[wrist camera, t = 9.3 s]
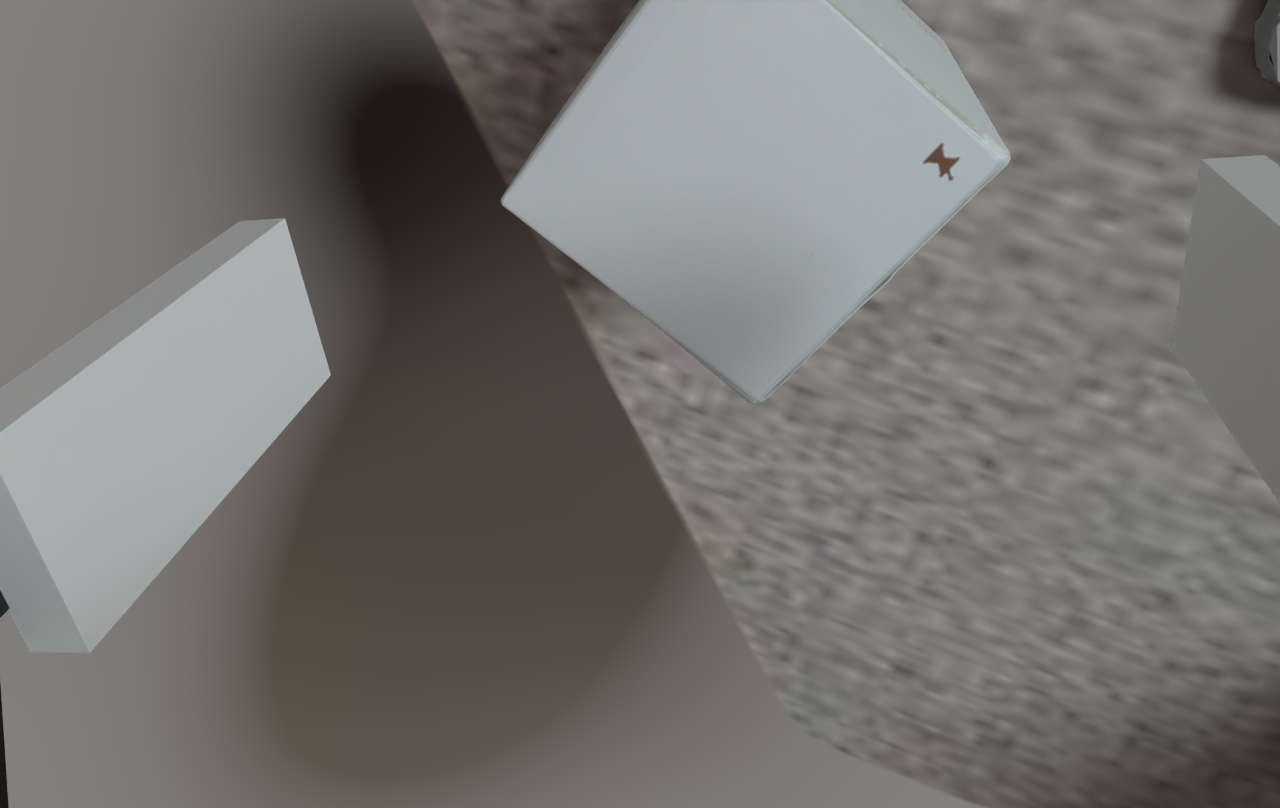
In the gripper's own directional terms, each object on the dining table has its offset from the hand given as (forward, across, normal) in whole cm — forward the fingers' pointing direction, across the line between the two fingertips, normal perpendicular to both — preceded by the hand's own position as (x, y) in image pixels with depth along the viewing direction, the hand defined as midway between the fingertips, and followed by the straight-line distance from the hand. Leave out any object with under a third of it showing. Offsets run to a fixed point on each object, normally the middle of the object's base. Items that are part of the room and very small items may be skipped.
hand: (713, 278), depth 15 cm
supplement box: (+18, 0, 0) cm, 18 cm away
